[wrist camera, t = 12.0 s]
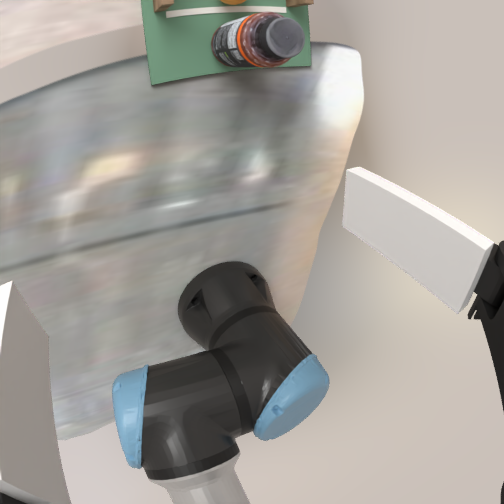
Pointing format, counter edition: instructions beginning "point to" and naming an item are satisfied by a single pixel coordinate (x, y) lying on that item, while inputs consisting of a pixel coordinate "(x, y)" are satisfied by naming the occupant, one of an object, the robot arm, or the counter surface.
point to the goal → (162, 3)
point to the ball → (233, 2)
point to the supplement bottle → (258, 41)
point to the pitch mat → (204, 35)
